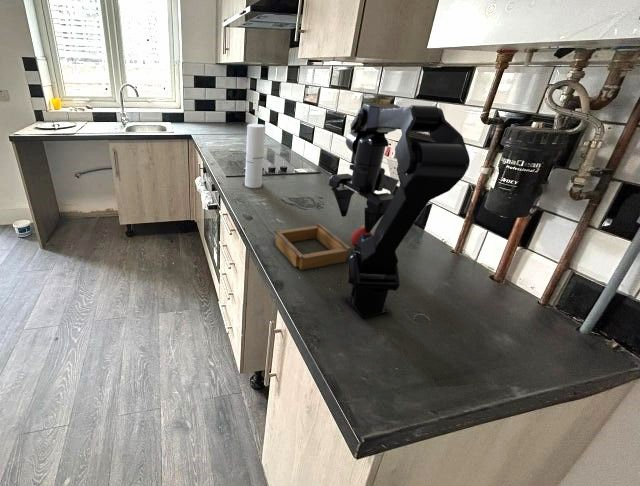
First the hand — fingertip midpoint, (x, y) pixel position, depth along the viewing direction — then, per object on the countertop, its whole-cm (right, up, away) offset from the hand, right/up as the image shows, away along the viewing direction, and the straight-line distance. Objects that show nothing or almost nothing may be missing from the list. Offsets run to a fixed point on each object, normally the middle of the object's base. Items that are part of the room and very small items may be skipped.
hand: (355, 224), depth 79 cm
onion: (+5, -8, +12) cm, 15 cm away
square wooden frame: (-9, -8, +11) cm, 16 cm away
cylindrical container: (-23, +16, +59) cm, 65 cm away
